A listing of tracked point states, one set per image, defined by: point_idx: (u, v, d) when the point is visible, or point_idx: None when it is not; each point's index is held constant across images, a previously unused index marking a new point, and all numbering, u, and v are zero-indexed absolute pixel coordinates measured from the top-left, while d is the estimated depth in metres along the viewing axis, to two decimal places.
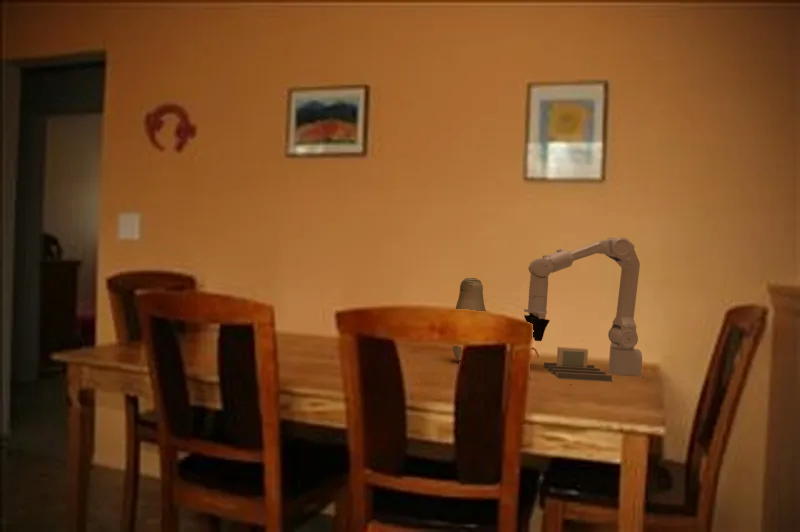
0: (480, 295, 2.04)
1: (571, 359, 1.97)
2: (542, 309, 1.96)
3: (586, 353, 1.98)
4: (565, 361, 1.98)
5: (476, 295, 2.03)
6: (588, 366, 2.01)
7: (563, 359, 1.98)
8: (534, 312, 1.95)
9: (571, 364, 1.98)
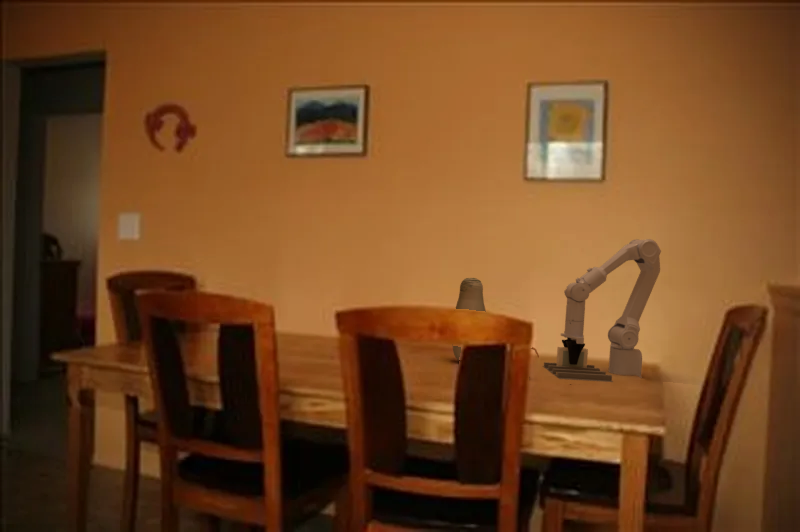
0: (480, 295, 2.04)
1: None
2: (579, 334, 1.96)
3: (586, 353, 1.98)
4: (565, 360, 1.98)
5: (475, 295, 2.03)
6: (588, 366, 2.01)
7: (562, 359, 1.98)
8: (571, 337, 1.94)
9: (571, 364, 1.98)
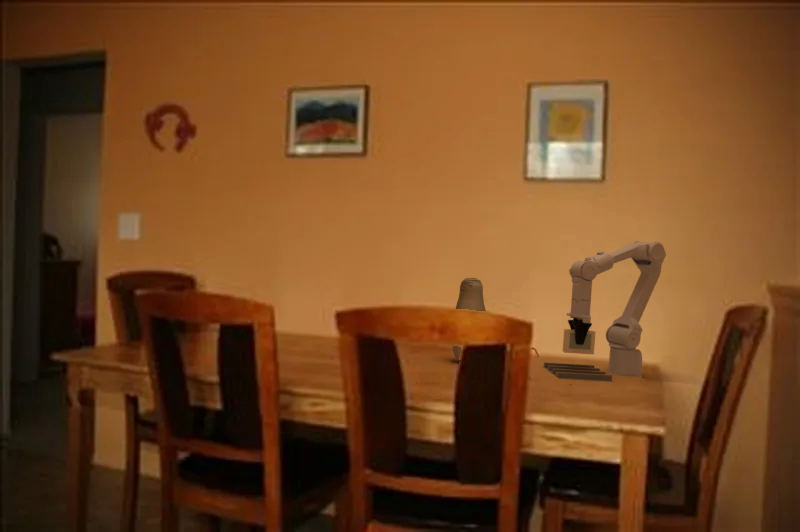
0: (480, 295, 2.04)
1: None
2: (586, 313, 1.91)
3: (593, 335, 1.92)
4: (572, 343, 1.92)
5: (476, 295, 2.03)
6: (588, 366, 2.01)
7: (569, 341, 1.92)
8: (578, 316, 1.89)
9: (578, 346, 1.92)
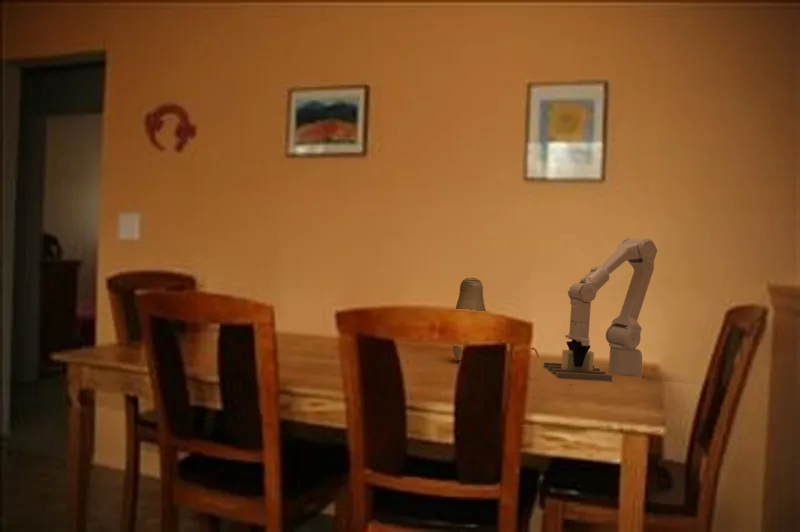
0: (480, 295, 2.04)
1: None
2: (584, 335, 1.91)
3: (592, 356, 1.92)
4: (570, 364, 1.92)
5: (475, 295, 2.03)
6: None
7: (568, 362, 1.92)
8: (577, 338, 1.89)
9: (577, 367, 1.92)
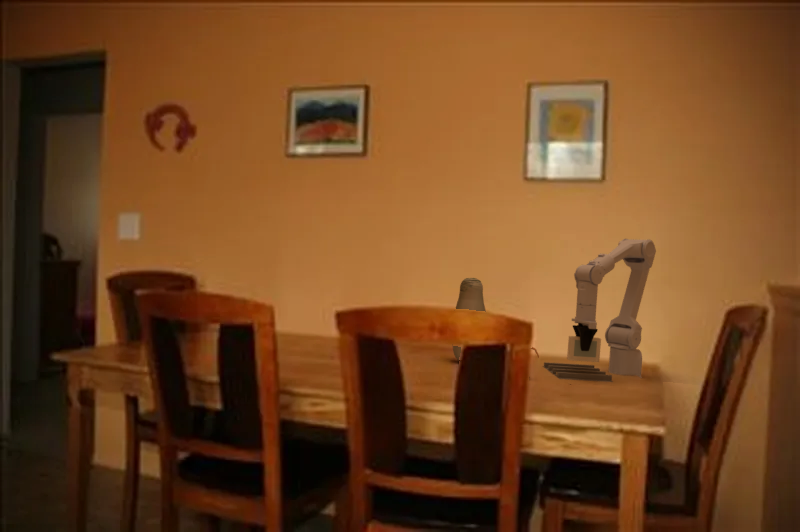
0: (480, 295, 2.04)
1: None
2: (591, 318, 1.85)
3: (599, 342, 1.87)
4: (577, 350, 1.87)
5: (475, 295, 2.03)
6: (588, 366, 2.01)
7: (574, 348, 1.87)
8: (583, 322, 1.84)
9: (583, 354, 1.87)
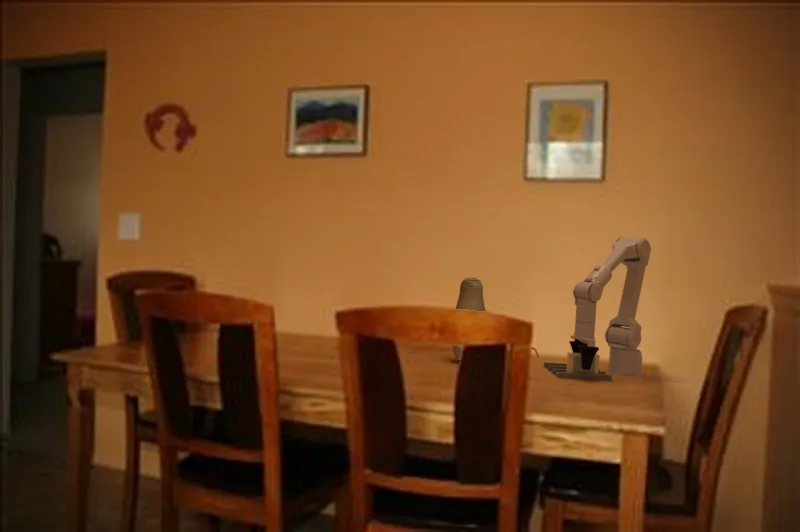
0: (480, 295, 2.04)
1: None
2: (590, 336, 1.86)
3: (598, 359, 1.87)
4: (575, 367, 1.87)
5: (476, 295, 2.03)
6: None
7: (573, 365, 1.87)
8: (582, 339, 1.84)
9: (582, 370, 1.87)
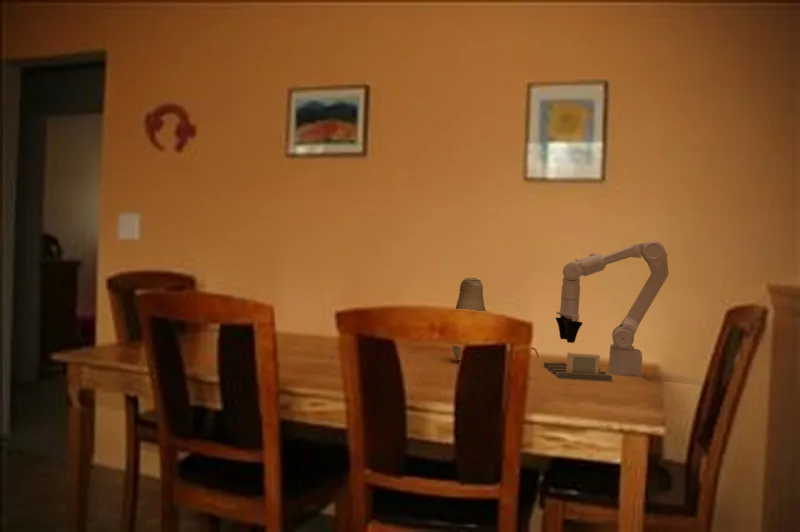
0: (480, 295, 2.04)
1: (582, 365, 1.87)
2: (574, 312, 2.02)
3: (598, 359, 1.87)
4: (575, 367, 1.87)
5: (476, 295, 2.03)
6: None
7: (573, 365, 1.87)
8: (567, 315, 2.01)
9: (582, 370, 1.87)
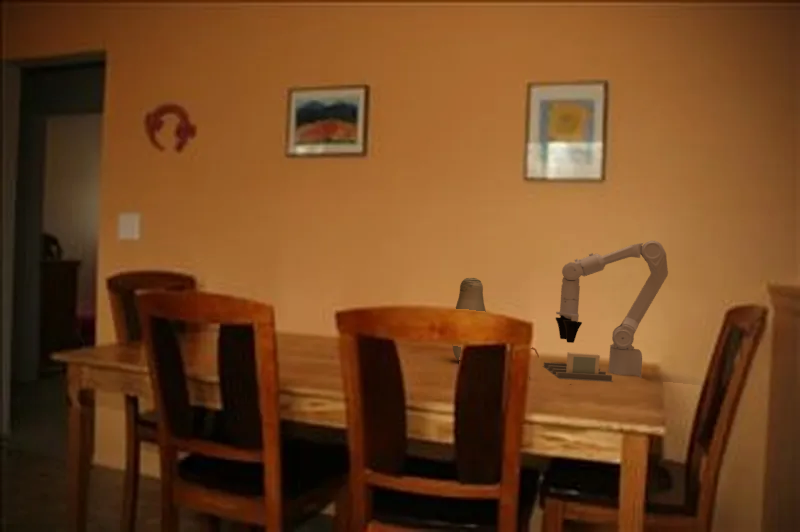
0: (480, 295, 2.04)
1: (582, 365, 1.87)
2: (574, 312, 2.03)
3: (598, 359, 1.87)
4: (575, 367, 1.87)
5: (476, 295, 2.03)
6: None
7: (573, 365, 1.87)
8: (567, 314, 2.01)
9: (582, 370, 1.87)
